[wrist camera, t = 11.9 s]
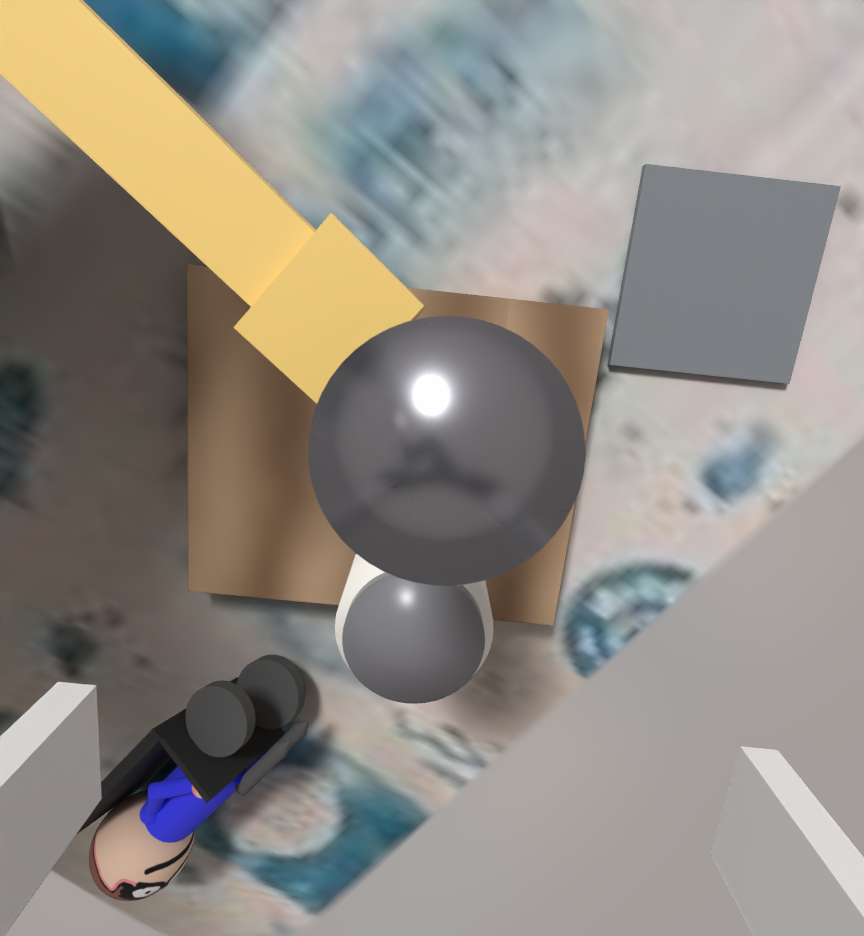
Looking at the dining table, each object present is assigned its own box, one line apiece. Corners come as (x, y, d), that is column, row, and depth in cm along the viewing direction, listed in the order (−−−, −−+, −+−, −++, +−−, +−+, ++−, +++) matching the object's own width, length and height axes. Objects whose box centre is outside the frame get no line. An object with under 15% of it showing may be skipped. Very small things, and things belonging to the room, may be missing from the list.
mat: (607, 364, 28) (609, 364, 28) (642, 166, 26) (645, 164, 26) (784, 382, 29) (789, 383, 28) (834, 188, 26) (840, 186, 26)
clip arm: (-104, -219, 10) (-347, -463, 7) (426, 309, 12) (423, 305, 9) (-172, -101, 11) (-430, -279, 7) (352, 389, 13) (325, 412, 10)
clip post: (395, 393, 27) (302, 573, 8) (402, 314, 26) (314, 300, 7) (470, 401, 27) (561, 597, 8) (480, 323, 26) (607, 332, 7)
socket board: (203, 574, 31) (188, 590, 29) (204, 267, 27) (186, 264, 25) (546, 606, 32) (553, 625, 30) (596, 310, 28) (608, 309, 26)
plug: (367, 533, 31) (312, 715, 17) (375, 435, 29) (322, 542, 15) (467, 543, 31) (496, 731, 17) (479, 446, 29) (523, 562, 15)
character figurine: (340, 680, 33) (180, 826, 36) (241, 605, 32) (82, 764, 34) (321, 794, 26) (122, 966, 29) (191, 704, 24) (-8, 897, 27)
